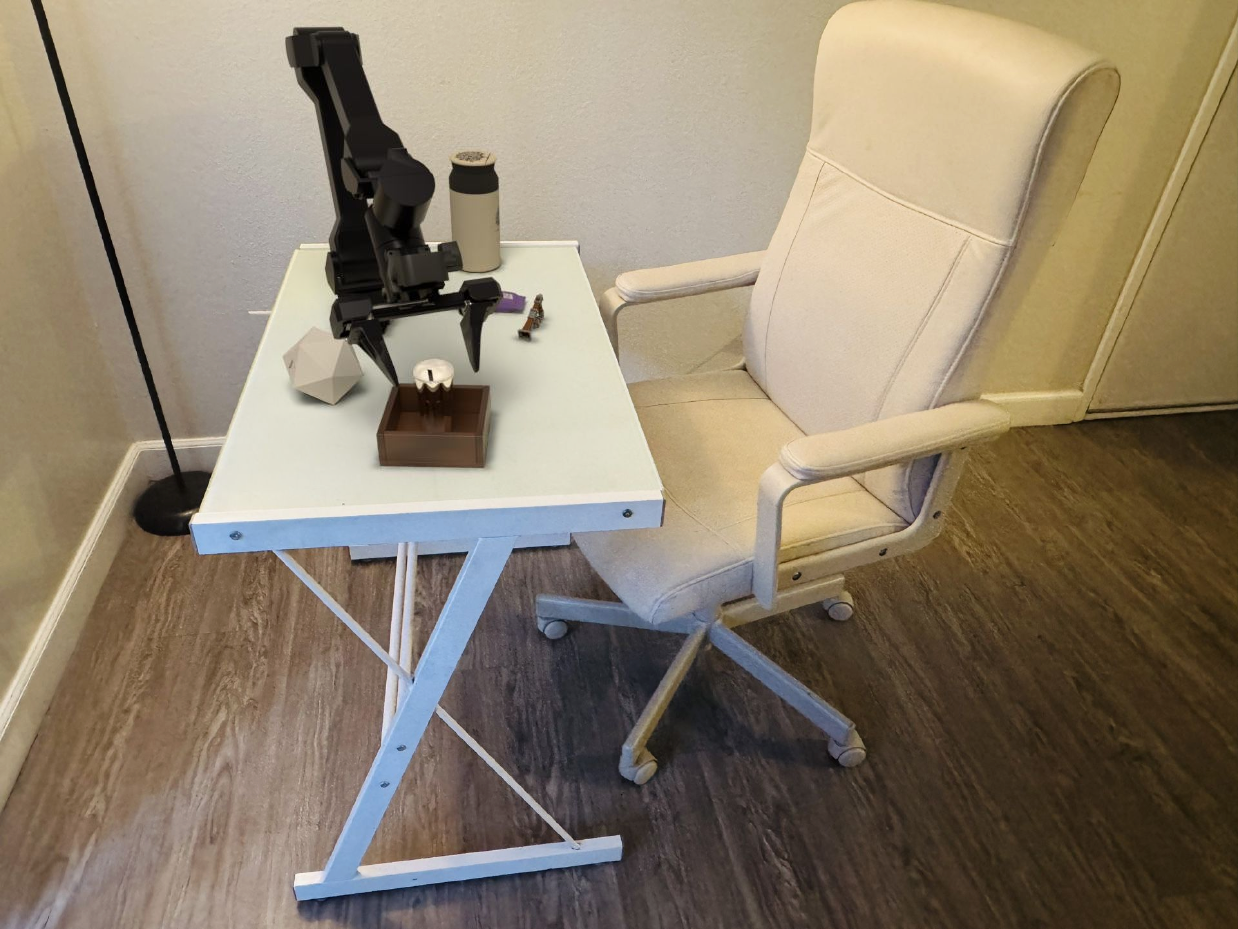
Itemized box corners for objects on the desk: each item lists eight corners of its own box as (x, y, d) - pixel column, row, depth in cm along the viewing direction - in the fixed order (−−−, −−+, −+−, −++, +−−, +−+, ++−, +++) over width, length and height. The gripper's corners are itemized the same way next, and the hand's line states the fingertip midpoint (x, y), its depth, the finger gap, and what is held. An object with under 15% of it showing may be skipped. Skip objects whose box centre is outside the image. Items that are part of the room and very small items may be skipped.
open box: (379, 465, 97) (376, 434, 95) (396, 412, 107) (393, 382, 104) (483, 467, 98) (482, 436, 96) (491, 414, 107) (490, 385, 105)
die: (307, 377, 114) (259, 339, 105) (365, 343, 113) (321, 301, 104) (325, 426, 110) (276, 391, 101) (385, 391, 109) (341, 352, 100)
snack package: (526, 290, 135) (522, 303, 131) (526, 302, 136) (523, 315, 132) (452, 285, 135) (446, 299, 130) (452, 297, 136) (447, 311, 132)
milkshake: (414, 445, 100) (408, 368, 94) (420, 421, 104) (414, 346, 98) (454, 446, 100) (450, 369, 94) (458, 421, 104) (454, 347, 99)
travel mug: (447, 270, 145) (440, 160, 134) (461, 253, 151) (456, 147, 141) (493, 275, 144) (490, 165, 134) (505, 258, 150) (504, 152, 140)
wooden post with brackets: (549, 312, 131) (546, 291, 127) (533, 352, 127) (529, 331, 123) (538, 310, 131) (534, 289, 128) (521, 350, 127) (517, 329, 123)
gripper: (320, 225, 87) (361, 371, 85) (495, 207, 95) (535, 340, 93) (314, 271, 97) (350, 403, 95) (473, 251, 105) (508, 372, 103)
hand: (437, 379), depth 96 cm, fingers open, 9 cm apart
